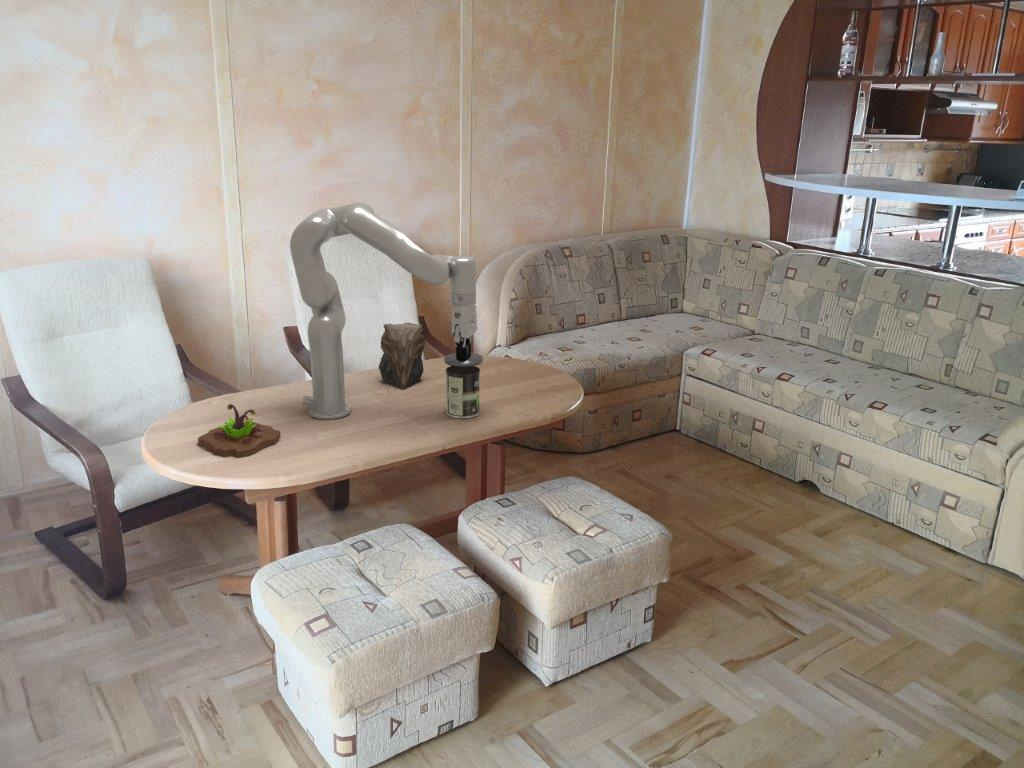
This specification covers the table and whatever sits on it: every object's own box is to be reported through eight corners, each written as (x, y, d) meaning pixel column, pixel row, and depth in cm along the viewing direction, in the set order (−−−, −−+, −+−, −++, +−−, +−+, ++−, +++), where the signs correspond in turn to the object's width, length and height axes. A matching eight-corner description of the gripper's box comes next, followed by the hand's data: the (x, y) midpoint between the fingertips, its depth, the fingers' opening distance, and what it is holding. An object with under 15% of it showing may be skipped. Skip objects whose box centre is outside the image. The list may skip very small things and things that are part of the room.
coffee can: (480, 407, 265) (480, 364, 261) (478, 419, 256) (478, 374, 251) (447, 406, 265) (447, 363, 261) (444, 418, 256) (444, 374, 251)
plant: (242, 424, 248) (239, 388, 245) (291, 438, 239) (289, 401, 235) (186, 447, 232) (182, 408, 228) (236, 463, 223) (233, 423, 219)
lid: (438, 364, 251) (438, 348, 250) (452, 354, 262) (452, 338, 260) (475, 368, 248) (475, 352, 247) (488, 357, 259) (488, 342, 257)
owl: (377, 381, 287) (375, 324, 280) (405, 373, 296) (404, 318, 289) (402, 390, 279) (401, 331, 273) (430, 381, 288) (429, 324, 282)
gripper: (465, 305, 240) (465, 367, 246) (484, 293, 255) (484, 352, 261) (441, 303, 243) (441, 364, 248) (460, 291, 257) (461, 349, 263)
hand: (463, 357), depth 255 cm, fingers closed on lid, 3 cm apart
